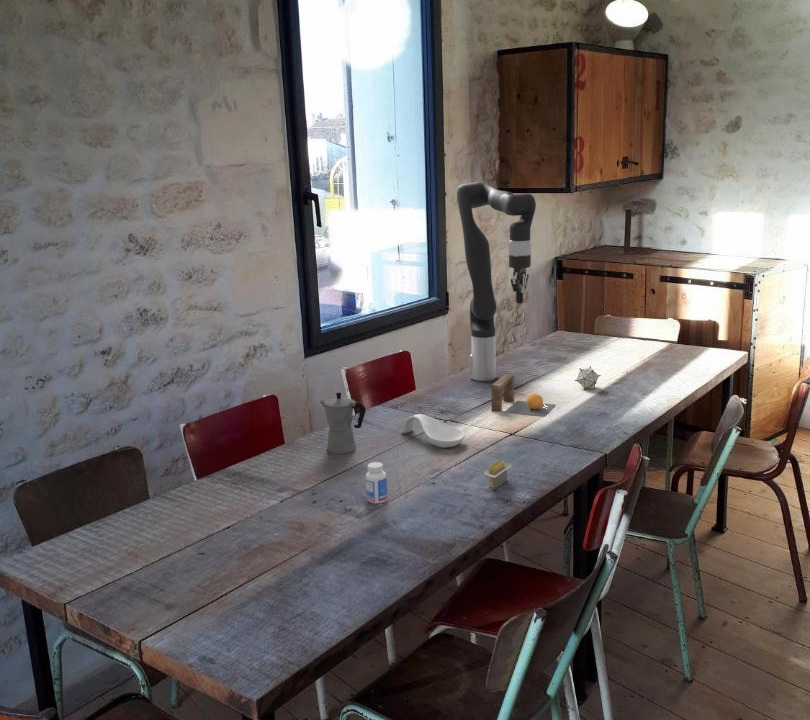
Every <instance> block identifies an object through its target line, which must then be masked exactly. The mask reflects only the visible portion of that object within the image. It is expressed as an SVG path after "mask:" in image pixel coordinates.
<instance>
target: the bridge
mask: <svg viewBox="0 0 810 720" xmlns="http://www.w3.org/2000/svg"><path fill="white" fill-rule="evenodd" d="M514 385H515V375H514V374H506V373H505V374H504V375H503V376H502V377H501V378H499V379H498V380H497V381H494V383H492V384H491V412H497V413H500V412H502V411H503V402H511V403H512V402H514V399H515V386H514ZM502 393H503V394H502Z"/></svg>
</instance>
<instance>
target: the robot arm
mask: <svg viewBox="0 0 810 720" xmlns="http://www.w3.org/2000/svg"><path fill="white" fill-rule="evenodd" d="M456 201H457V206H458V211H459V215H460V220H461V227H462V235H463V244H464V254H465V261H466V266H467V270H468V273H469V278H470V280H471V284H472V298H471V301H470V305H469V314H470V315H469V320H470V321H469V323H470V326H469V327H470V331H471V333H470V334H471V338H470V339H471V354H470V355H469V379H470V380H474V381H479V382H487V381H488V382H489V381H490V382H491V381H493V380H496V372H497V371H496V327H495V317H494V316H495V314H496V311H497V303H496V299H495V293H494V290H493V281H492V263H491V261H492V260H491V250H490V243H489V240H488V238H487V237H486V235H485V234H484V233H483V231H482V230H481V229H480V228H479V226H478V225H477V223H476V221H475V218H474V215H473V209H477V208H481V207H484V206H490V207H491V208H492V210H495V211H497V212H501V213H502V212H503V213H505V214H506V215H507V216H511V217H516V216H520V217H519V220H517V221H515V222H512V223H511V224H510V225H509V243H508V244H509V245H508V267H509V268H512V269H513V273H512V278H510V284H511V287H512V292H513V293H515V296H516V297H515V303H516V304H520V305H521V304H523V303H524V292H525V290H527V285H528V280H529V278H530V277H529V276H530V275H529V273H527V268H530V267H531V266H532V244H531V228H532V224H533V220H534V216H535V213H536V208H537V204H536V199H535V196H533V194H530V193H520V194H514V193H513V192H510V191H505V190H499V189H496V188H494V187H492V186H490V185H488V184H486V183H484V182H482V181H476V182H475V181H474V182H471V183H463V184H461V185H459V186H458V187H457V189H456Z"/></svg>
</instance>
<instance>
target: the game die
mask: <svg viewBox="0 0 810 720" xmlns="http://www.w3.org/2000/svg"><path fill="white" fill-rule="evenodd" d="M601 376H602V375H601V374H597V373H596V371H594V369H592V367H591V365H590V366H589V368H588V367H587V368H581V367H580V368H579V372H578V376H577V377H576V379H574V382H577V383H579V385H581V387H582V386H583V388H584V389H583V390H584V391H586V389H589V388H594V389H596V385H597V381H598V379H599V377H601Z"/></svg>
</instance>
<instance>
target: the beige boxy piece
mask: <svg viewBox="0 0 810 720" xmlns="http://www.w3.org/2000/svg"><path fill="white" fill-rule="evenodd" d="M511 467H512V463H509V462H505V460H502V461H501V462H500V460H499V459H497V460H496V461H494V462H493V463H491V464H489V465H488V468H487V469H486V470H485V471H484V475H486V476H488V477H489V487H490V488H492V491H494V490H495V489H497V488H499V486H501V485H502V484H504V483H505V482H507V481H508V469H510V468H511Z"/></svg>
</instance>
